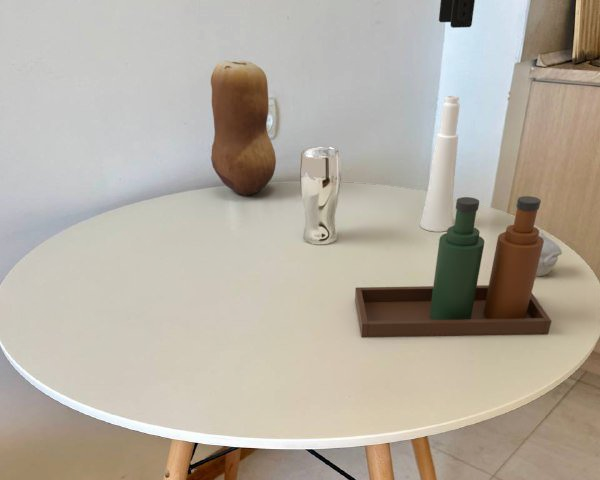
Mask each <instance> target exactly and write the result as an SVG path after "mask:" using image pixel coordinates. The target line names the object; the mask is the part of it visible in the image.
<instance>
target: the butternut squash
mask: <svg viewBox="0 0 600 480" xmlns="http://www.w3.org/2000/svg"><path fill="white" fill-rule="evenodd" d="M210 87H211V109H212V116H213V128H214V136H213V143H212V145H211V146H212V147H211V156H210V160H211V165H212V168H213V170H214V172H215V173H216V175H217V176H218V177H219V179H220V180H221V182H222V183H223V184H224V185H225V186H226V187H227V188H229V189H230V190H232V191H233V192H234V193H235V194H237V195H240V196H244V197H247V196H250V195H252V194H254V193H258V192H260V191H261V190H263V189H264V188H265V187H266V186H267V185H268V183H270V181H271V180H272V178H273V176H274V174H275V171H276V163H277V161H276V160H277V159H276V152H275V151H276V150H275V148H274V145H273V143H272V140H271V139H270V136H269V133H268V129H267V123H268V118H269V117H268V116H269V109H270V108H269V102H270V101H269V88H268V77H267V75H266V73H265V71H264V70H263V69H262V68H261V67H260V66H259V65H257V64H256V63H253V62H251V61H247V60H238V61H237V60H236V61H230V60H222V61H220V62H218V63H217V64H216V65H215V66H214V68H213V71H212V73H211V76H210Z"/></svg>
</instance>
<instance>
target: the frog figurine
mask: <svg viewBox="0 0 600 480" xmlns="http://www.w3.org/2000/svg"><path fill="white" fill-rule="evenodd" d="M539 236H540V237H541V238H543V240H544V244H543V248H542V252H541V256H540V260H539V264H538V268H537V272H536V277H544V276H546V275H548V274H549V273H550V272H551V271H552V270H553V268H554V267H555V266H556V264H557V262H558V260H559V256H561V255H562V254H563V251H562V249H561V247H560V246H559V245H558V244H557V243H556V242H555V241H554V240H552V239H550V238H549V237H548V236H546V235H545V234H544V233H543V232H542V231H539Z"/></svg>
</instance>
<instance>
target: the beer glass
mask: <svg viewBox="0 0 600 480" xmlns="http://www.w3.org/2000/svg"><path fill="white" fill-rule="evenodd" d="M341 160H342V159H341V150H340V149H339V148H337V147H332V146H312V147H306V148H304V149H302V150H301V153H300V168H299V169H300V172H299V173H300V174H299V178H300V179H299V181H300V191H301V197H302V198H301V199H302V203H303V209H304V216H305V217H304V218H305V224H304V230H303V240H304V241H305V242H306V243H308V244H311V245H321V246H322V245H329V244H332V243H334V242H336V241H337V239H338V233H337V227H336V213H337V208H338V204H339V197H340V192H341V186H342V185H341V184H342V162H341Z"/></svg>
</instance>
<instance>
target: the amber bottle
mask: <svg viewBox="0 0 600 480" xmlns="http://www.w3.org/2000/svg"><path fill="white" fill-rule="evenodd" d="M541 202H542V200H541V199H540V198H538V197H536V196H529V195H523V196H519V197H518V198H517V201H516V212H515V215H514V216H515V217H514V222H513V224H510V225H508V226H507V227H506V228H505V231H504V232H501V233H499V235H498V236H497V241H496V244H495V245H496V246H495V251H494V256H493V261H492V267H491V271H490V277H489V282H488V285H489V286H488V292H487V297H486V302H485V307H484V312H483V313H484V316H485V317H486V318H487V319H524V318H526V314H527V309H528V305H529V301H530V297H531V293H532V294H533V288H534V284H535V281H536V277H537V276H536V272H537V268H538V264H539V260H540V256H541V252H542V248H543V244H544V240H543V238H541V237H540V236H539V232H540V230H539V229H538V228H537V227H536V226H535V223H536V219H537V214H538V210H540V207H541Z"/></svg>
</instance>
